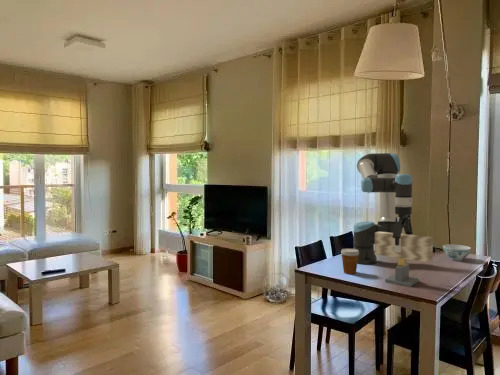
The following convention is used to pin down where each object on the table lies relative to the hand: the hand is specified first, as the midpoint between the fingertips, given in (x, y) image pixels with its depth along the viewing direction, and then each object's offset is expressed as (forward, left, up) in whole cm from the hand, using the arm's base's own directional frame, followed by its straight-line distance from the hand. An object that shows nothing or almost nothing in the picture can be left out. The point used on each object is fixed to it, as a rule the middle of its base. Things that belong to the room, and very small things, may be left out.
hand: (402, 249), depth 189 cm
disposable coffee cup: (-27, -1, -16) cm, 31 cm away
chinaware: (+9, +67, -16) cm, 69 cm away
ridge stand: (0, 0, -16) cm, 16 cm away
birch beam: (0, 0, -4) cm, 4 cm away
